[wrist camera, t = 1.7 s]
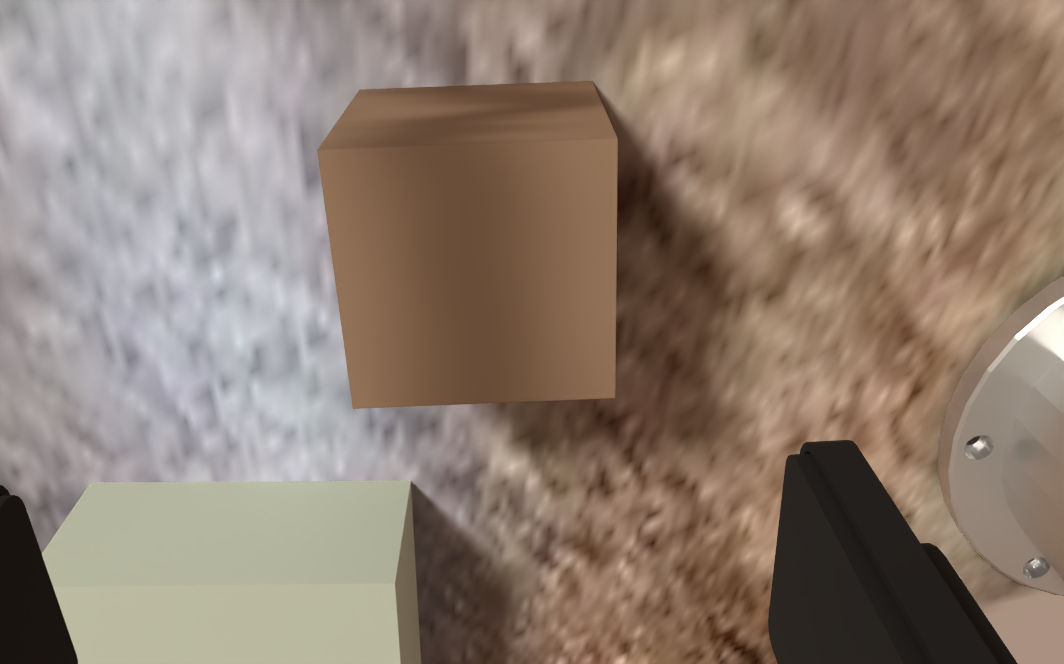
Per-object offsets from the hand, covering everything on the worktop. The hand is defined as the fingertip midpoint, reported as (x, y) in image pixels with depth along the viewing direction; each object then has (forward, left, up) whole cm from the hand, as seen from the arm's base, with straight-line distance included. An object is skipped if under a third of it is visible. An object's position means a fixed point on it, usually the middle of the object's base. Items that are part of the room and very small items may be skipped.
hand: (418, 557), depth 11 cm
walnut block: (0, 0, -15) cm, 15 cm away
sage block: (+8, +14, -15) cm, 22 cm away
